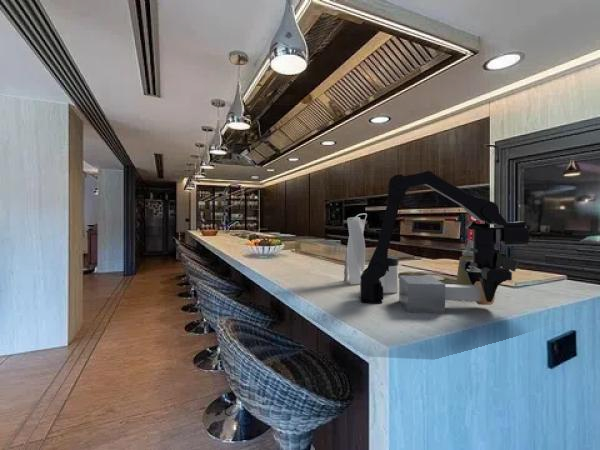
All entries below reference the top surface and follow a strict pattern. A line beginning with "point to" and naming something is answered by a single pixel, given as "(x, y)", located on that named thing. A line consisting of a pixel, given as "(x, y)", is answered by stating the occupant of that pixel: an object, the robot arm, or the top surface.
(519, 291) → the top surface
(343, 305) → the top surface
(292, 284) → the top surface
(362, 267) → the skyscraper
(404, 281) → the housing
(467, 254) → the squeeze bottle
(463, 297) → the white and tan bar
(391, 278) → the jar
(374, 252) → the robot arm
